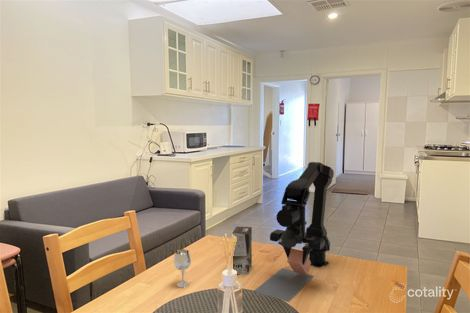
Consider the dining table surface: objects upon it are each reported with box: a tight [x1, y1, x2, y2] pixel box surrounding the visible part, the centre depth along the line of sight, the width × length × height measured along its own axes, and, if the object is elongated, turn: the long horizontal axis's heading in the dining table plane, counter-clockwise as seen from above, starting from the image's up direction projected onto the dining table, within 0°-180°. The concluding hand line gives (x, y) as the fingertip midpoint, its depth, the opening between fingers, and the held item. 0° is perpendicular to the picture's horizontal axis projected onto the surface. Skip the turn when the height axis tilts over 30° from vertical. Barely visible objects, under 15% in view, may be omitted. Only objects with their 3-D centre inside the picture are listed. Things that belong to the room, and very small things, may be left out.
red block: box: [286, 247, 312, 275], centre depth 122 cm, size 5×5×9 cm
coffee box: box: [231, 226, 253, 276], centre depth 131 cm, size 9×6×16 cm
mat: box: [253, 267, 315, 303], centre depth 120 cm, size 22×13×1 cm, turn 146°
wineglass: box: [173, 249, 192, 288], centre depth 120 cm, size 6×6×12 cm
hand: (296, 262), depth 120 cm, fingers closed on red block, 5 cm apart
